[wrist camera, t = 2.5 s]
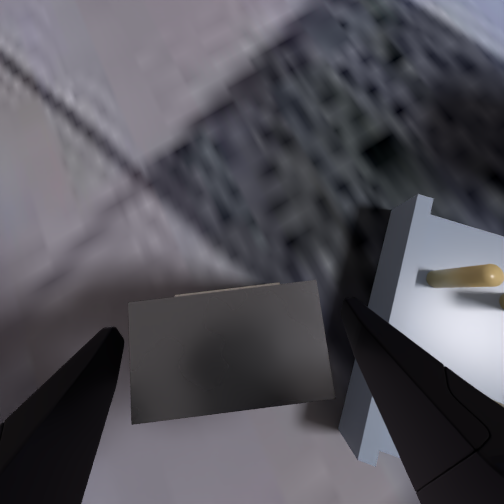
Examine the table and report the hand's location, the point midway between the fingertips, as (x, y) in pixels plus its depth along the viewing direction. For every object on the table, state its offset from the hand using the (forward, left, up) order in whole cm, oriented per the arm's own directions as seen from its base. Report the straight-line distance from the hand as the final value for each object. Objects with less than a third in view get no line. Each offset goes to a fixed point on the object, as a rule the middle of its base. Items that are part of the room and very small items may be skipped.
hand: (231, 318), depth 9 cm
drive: (-1, 0, -8) cm, 8 cm away
